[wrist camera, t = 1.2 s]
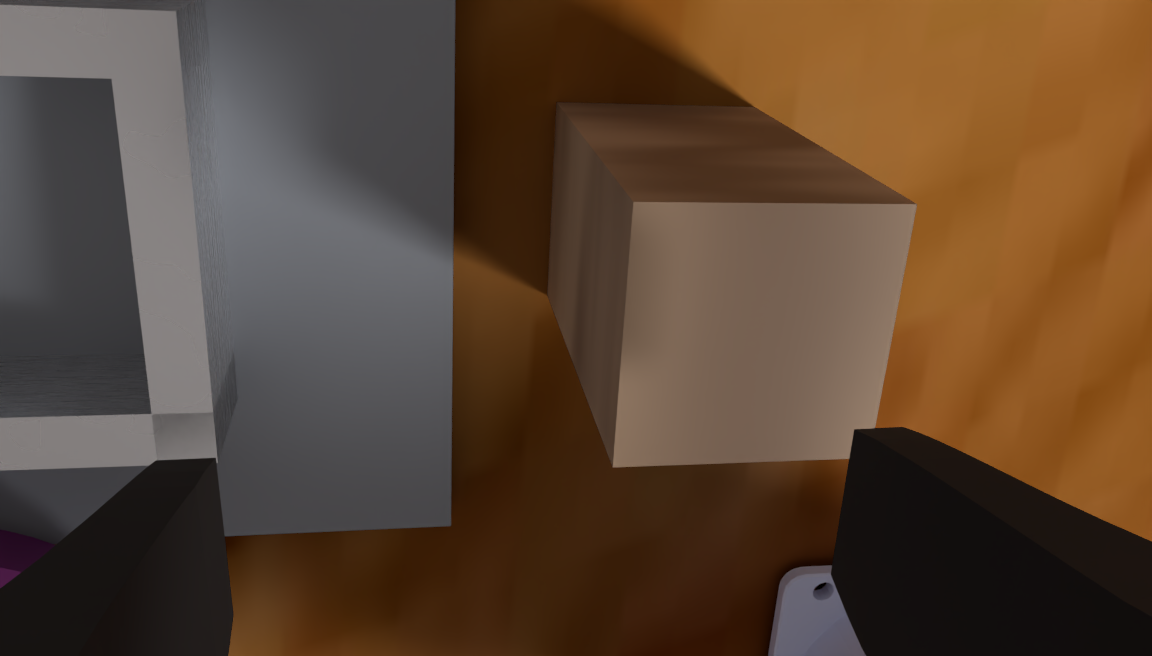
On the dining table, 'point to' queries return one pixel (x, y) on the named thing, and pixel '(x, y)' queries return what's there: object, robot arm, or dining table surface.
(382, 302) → the socket board
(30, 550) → the mounting bracket
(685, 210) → the walnut peg
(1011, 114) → the dining table surface
